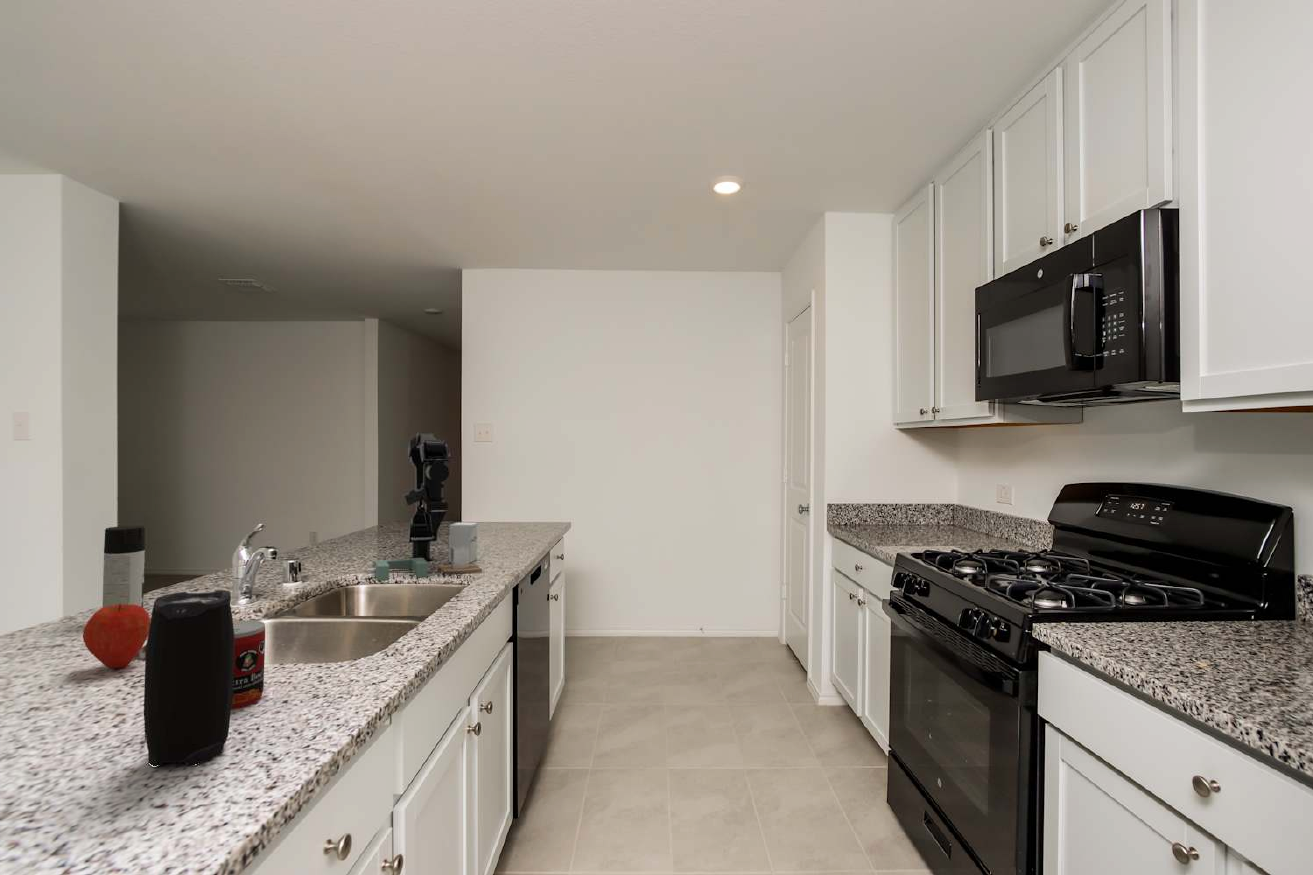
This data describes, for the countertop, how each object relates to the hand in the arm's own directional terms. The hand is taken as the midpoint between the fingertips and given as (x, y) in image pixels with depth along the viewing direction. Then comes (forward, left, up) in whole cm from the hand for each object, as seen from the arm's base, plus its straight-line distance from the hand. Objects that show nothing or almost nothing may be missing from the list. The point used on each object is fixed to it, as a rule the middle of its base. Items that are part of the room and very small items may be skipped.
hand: (431, 531), depth 192 cm
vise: (+1, -10, -12) cm, 16 cm away
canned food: (+89, -42, -12) cm, 99 cm away
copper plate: (+3, +8, -12) cm, 15 cm away
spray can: (+31, -67, -12) cm, 75 cm away
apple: (+65, -61, -12) cm, 90 cm away
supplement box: (-12, +12, -12) cm, 21 cm away
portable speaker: (+106, -45, -12) cm, 116 cm away
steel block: (+3, +8, -11) cm, 14 cm away
